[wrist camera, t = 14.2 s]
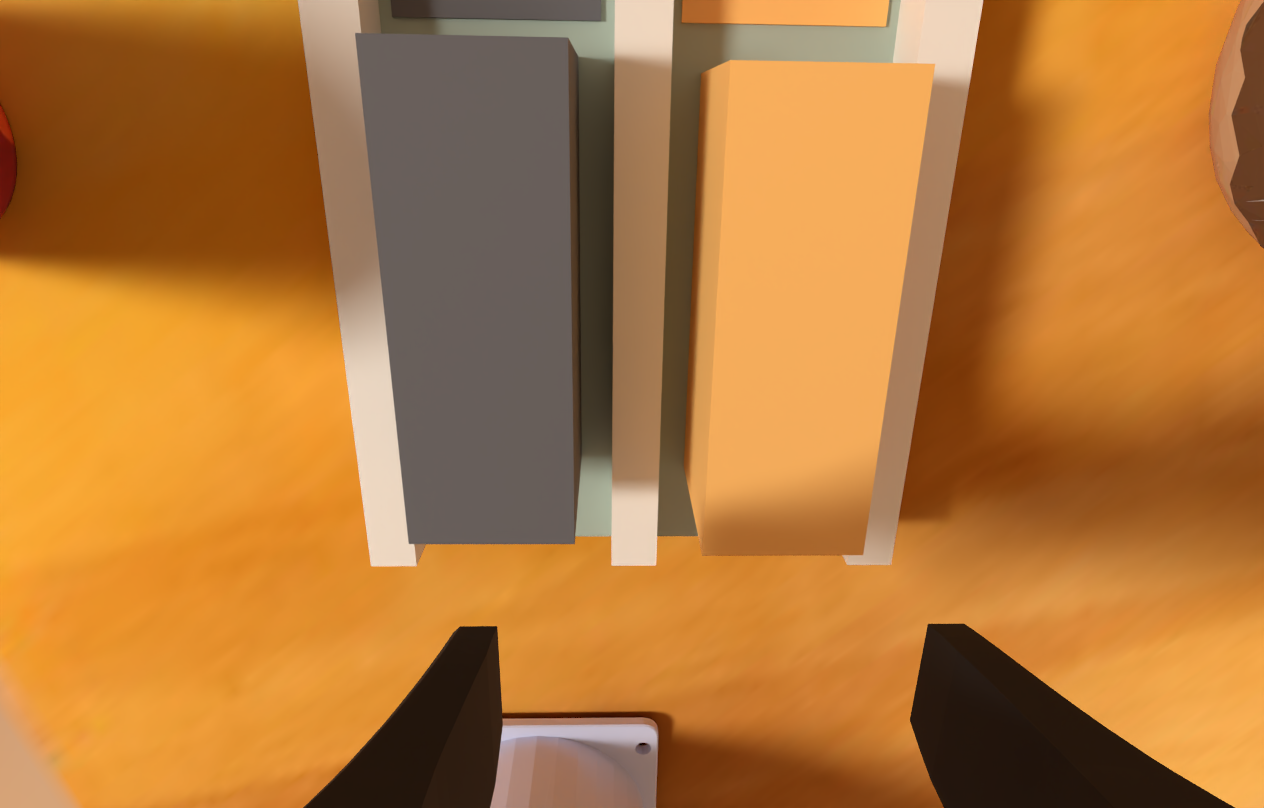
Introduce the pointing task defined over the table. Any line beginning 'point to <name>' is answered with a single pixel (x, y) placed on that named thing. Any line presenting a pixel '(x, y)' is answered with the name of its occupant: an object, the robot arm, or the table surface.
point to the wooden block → (796, 296)
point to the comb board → (632, 226)
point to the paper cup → (6, 163)
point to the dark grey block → (479, 278)
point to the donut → (1241, 118)
